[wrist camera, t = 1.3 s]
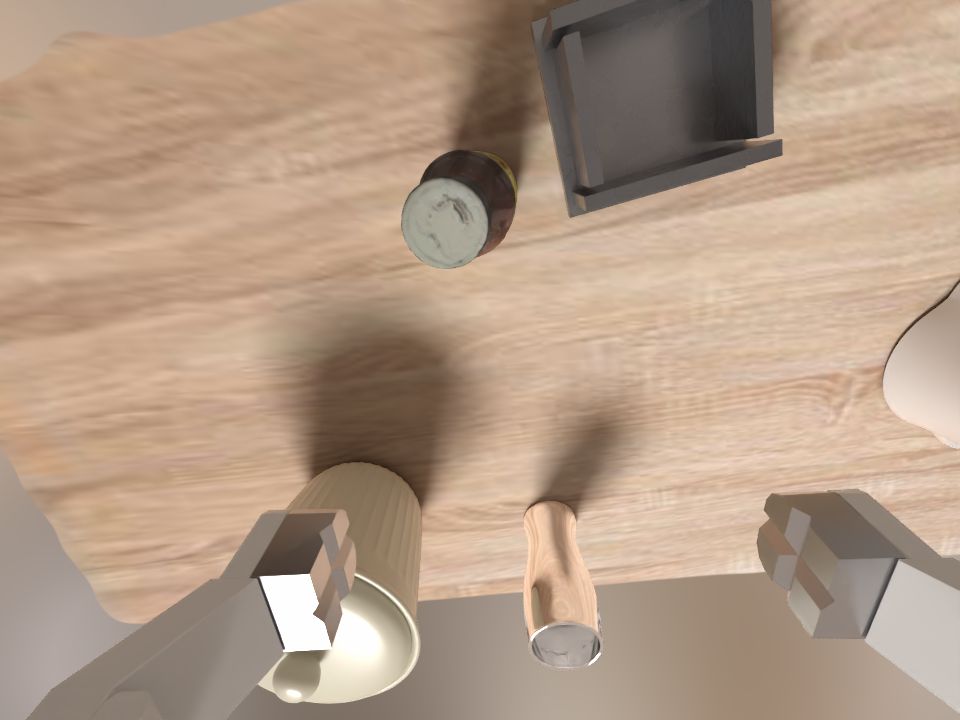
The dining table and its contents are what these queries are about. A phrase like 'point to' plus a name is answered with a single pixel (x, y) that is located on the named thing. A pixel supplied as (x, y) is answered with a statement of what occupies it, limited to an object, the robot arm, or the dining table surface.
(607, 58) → the square socket
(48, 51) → the dining table surface
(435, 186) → the sauce bottle
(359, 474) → the canister
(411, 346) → the dining table surface
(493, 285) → the dining table surface
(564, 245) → the dining table surface
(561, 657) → the beer glass
